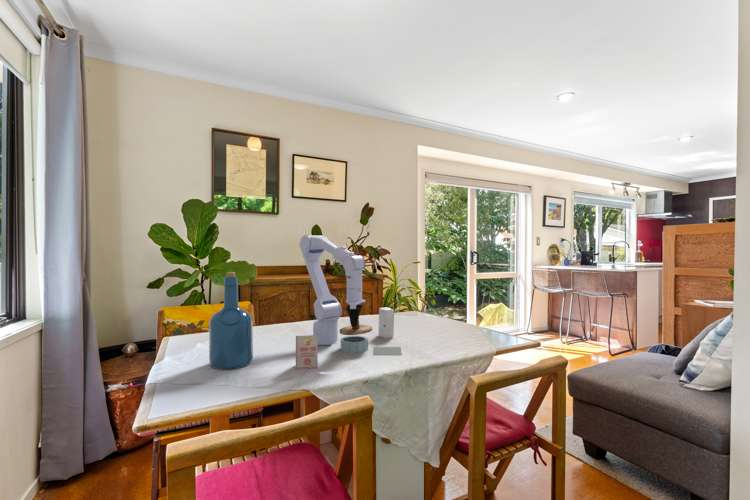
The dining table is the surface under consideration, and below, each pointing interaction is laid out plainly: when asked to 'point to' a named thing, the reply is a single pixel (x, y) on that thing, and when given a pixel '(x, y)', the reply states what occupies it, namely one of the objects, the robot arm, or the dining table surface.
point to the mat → (387, 351)
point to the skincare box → (386, 322)
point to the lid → (356, 329)
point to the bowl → (354, 344)
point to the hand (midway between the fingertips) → (354, 325)
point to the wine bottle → (230, 331)
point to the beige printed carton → (306, 352)
